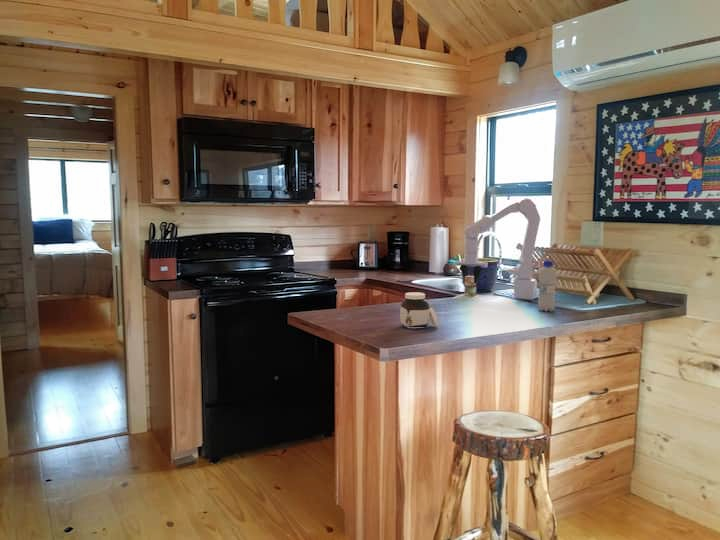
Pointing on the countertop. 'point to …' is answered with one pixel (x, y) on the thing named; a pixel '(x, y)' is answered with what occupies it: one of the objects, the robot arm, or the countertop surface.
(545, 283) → the bottle
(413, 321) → the spread jar
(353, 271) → the countertop surface
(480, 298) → the white rectangular panel
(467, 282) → the maple cube
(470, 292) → the sage base cube
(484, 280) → the planter
